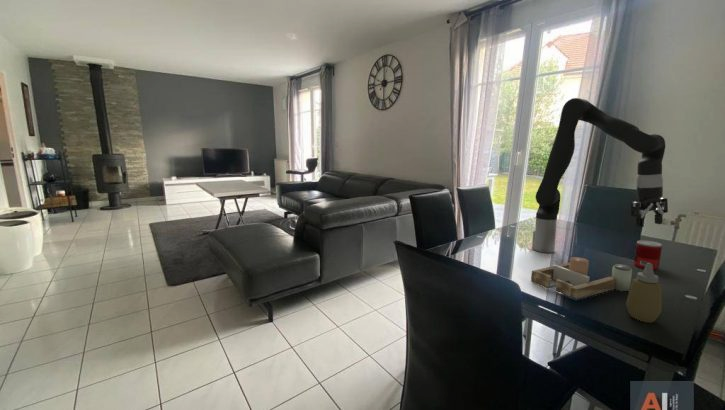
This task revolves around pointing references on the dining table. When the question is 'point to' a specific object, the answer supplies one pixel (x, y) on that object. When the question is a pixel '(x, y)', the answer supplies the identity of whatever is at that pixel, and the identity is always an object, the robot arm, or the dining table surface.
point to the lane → (578, 291)
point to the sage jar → (622, 276)
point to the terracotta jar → (579, 265)
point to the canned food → (647, 254)
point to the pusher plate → (568, 276)
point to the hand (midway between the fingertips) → (649, 225)
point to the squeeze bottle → (645, 296)
